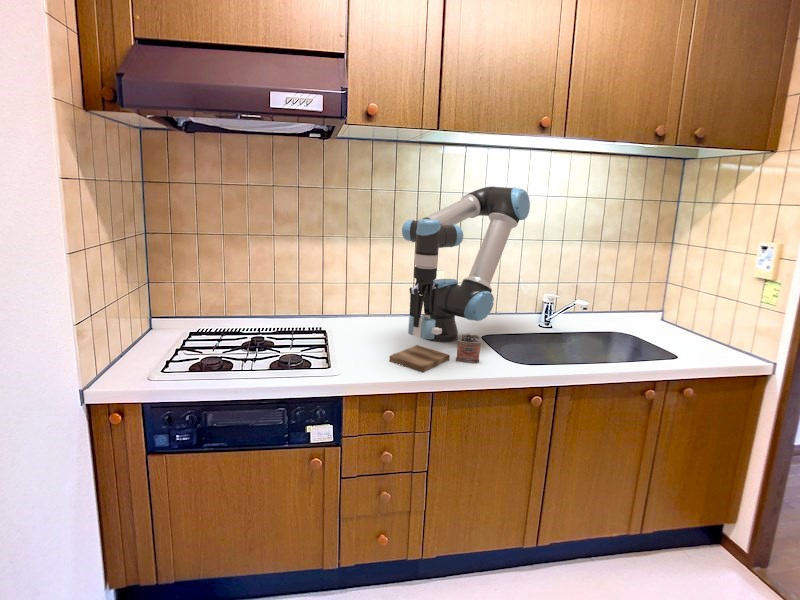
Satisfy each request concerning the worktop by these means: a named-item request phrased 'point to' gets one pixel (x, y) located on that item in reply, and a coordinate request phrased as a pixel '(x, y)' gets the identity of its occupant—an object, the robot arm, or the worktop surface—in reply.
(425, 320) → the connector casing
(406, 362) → the walnut board
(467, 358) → the lighter
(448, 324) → the robot arm
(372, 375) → the worktop surface
